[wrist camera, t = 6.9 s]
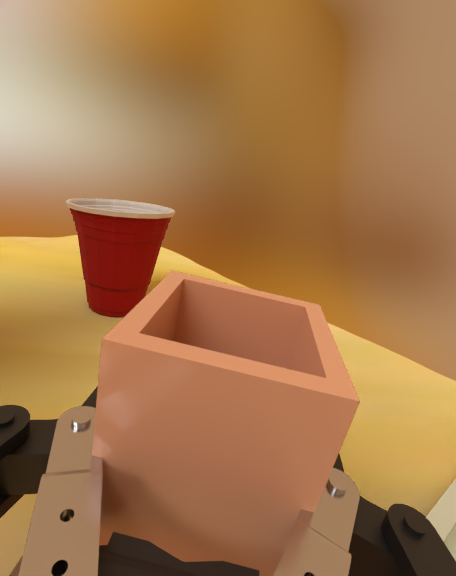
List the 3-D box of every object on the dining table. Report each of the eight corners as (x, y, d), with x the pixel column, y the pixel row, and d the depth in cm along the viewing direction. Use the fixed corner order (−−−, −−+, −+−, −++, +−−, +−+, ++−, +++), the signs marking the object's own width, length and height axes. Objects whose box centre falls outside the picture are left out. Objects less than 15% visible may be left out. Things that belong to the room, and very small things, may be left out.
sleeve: (75, 635, 11) (101, 338, 7) (145, 469, 17) (178, 264, 13) (244, 682, 11) (359, 401, 7) (252, 497, 17) (316, 296, 13)
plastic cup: (99, 281, 44) (106, 189, 41) (174, 303, 43) (189, 209, 39) (37, 308, 34) (38, 190, 30) (131, 338, 33) (146, 217, 29)
